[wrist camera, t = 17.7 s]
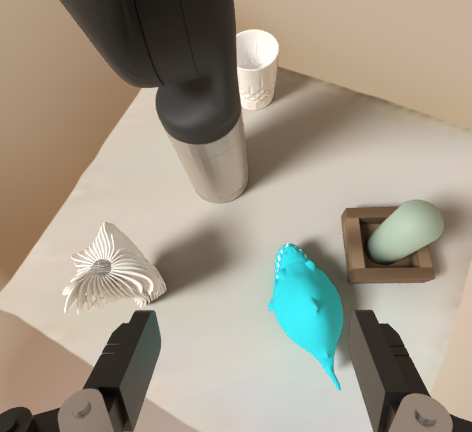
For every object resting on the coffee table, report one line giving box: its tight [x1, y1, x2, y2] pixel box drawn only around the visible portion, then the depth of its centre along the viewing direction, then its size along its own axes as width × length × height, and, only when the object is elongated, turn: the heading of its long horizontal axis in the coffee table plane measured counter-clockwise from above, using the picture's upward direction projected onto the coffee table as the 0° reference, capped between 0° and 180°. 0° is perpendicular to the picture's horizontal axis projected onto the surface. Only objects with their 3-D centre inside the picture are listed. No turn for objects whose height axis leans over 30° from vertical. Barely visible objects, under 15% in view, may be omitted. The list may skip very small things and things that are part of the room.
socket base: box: [341, 207, 435, 284], centre depth 46 cm, size 10×10×4 cm
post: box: [364, 200, 444, 266], centre depth 41 cm, size 5×5×12 cm
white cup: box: [236, 30, 279, 110], centre depth 54 cm, size 8×8×10 cm
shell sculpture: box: [62, 222, 166, 315], centre depth 40 cm, size 8×8×18 cm
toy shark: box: [268, 243, 343, 391], centre depth 40 cm, size 10×18×11 cm, turn 16°
